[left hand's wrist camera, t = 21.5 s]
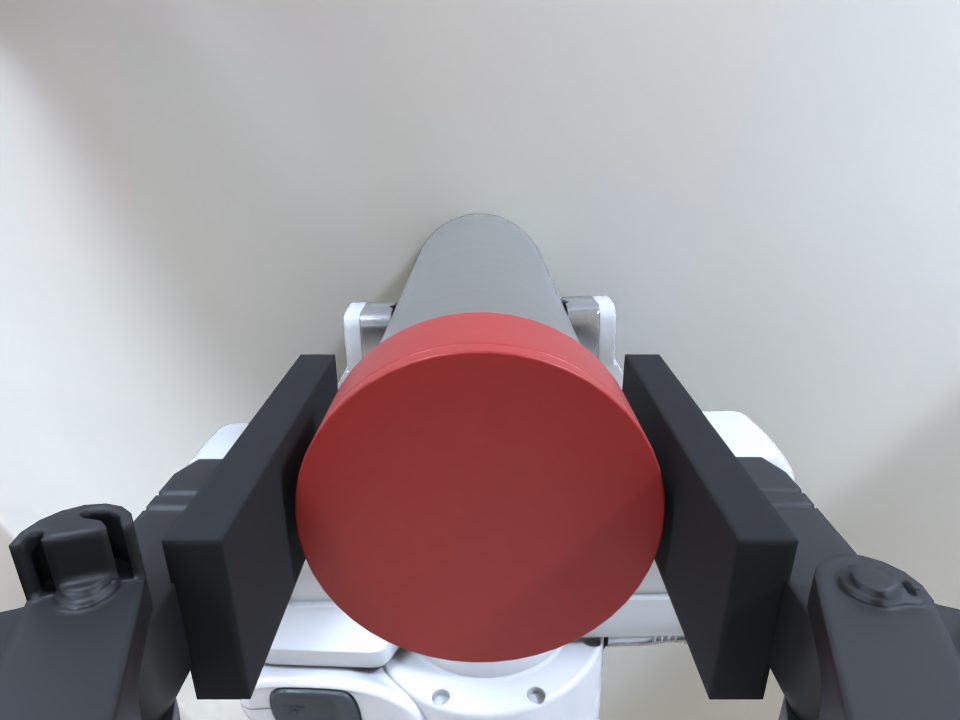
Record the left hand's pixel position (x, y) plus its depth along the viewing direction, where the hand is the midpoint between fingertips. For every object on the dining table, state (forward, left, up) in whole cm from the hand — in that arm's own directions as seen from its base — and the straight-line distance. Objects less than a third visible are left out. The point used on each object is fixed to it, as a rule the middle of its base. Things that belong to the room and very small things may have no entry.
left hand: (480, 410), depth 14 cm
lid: (0, 0, +4) cm, 4 cm away
